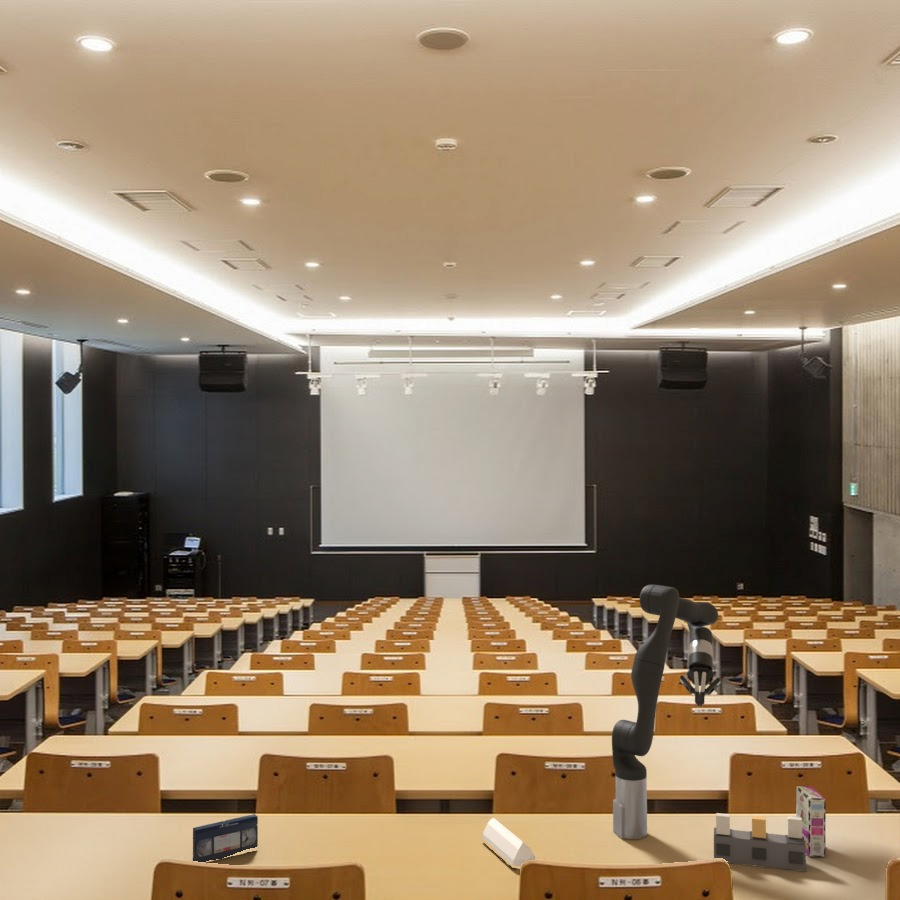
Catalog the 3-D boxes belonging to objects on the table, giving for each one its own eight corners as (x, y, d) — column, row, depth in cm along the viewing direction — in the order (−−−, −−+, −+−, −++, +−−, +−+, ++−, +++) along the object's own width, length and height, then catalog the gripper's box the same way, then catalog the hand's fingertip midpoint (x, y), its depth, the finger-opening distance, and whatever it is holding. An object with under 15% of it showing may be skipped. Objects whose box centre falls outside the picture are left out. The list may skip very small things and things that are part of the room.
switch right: (788, 837, 259) (787, 818, 259) (787, 834, 261) (787, 816, 261) (802, 838, 258) (801, 820, 258) (801, 835, 260) (801, 817, 260)
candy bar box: (827, 857, 263) (826, 798, 264) (809, 857, 264) (808, 798, 264) (812, 842, 275) (812, 785, 275) (795, 841, 275) (795, 785, 275)
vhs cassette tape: (195, 866, 260) (195, 830, 260) (191, 862, 262) (191, 826, 262) (258, 851, 269) (258, 816, 270) (255, 848, 272) (254, 813, 272)
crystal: (472, 828, 276) (508, 860, 254) (492, 813, 278) (528, 843, 256) (484, 848, 277) (520, 882, 255) (503, 833, 280) (541, 864, 257)
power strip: (713, 862, 261) (713, 835, 261) (714, 852, 267) (714, 827, 267) (806, 872, 254) (805, 845, 254) (804, 862, 260) (804, 836, 260)
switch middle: (752, 836, 259) (751, 818, 260) (752, 834, 261) (751, 816, 261) (765, 838, 258) (765, 820, 258) (765, 835, 260) (765, 817, 260)
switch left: (716, 833, 262) (716, 815, 262) (716, 831, 264) (716, 813, 264) (729, 835, 261) (729, 816, 261) (729, 832, 263) (729, 814, 263)
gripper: (679, 649, 303) (677, 696, 291) (721, 651, 299) (721, 699, 287) (680, 662, 308) (678, 709, 296) (722, 665, 304) (722, 712, 292)
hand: (699, 704), depth 292 cm, fingers closed
